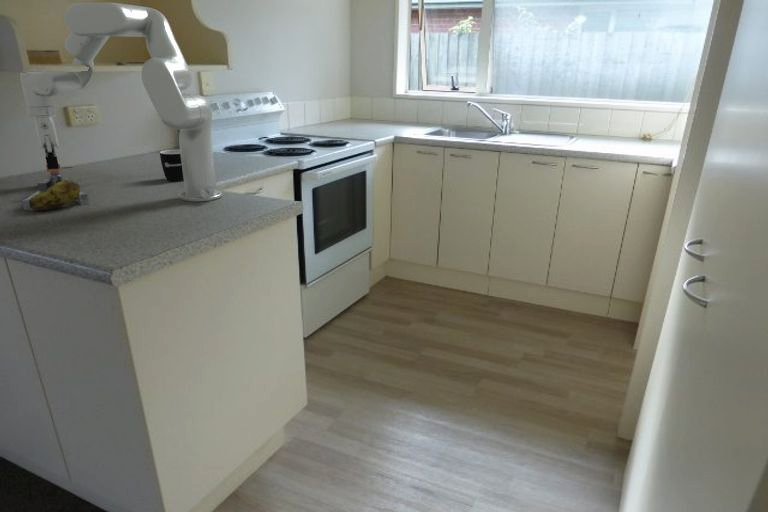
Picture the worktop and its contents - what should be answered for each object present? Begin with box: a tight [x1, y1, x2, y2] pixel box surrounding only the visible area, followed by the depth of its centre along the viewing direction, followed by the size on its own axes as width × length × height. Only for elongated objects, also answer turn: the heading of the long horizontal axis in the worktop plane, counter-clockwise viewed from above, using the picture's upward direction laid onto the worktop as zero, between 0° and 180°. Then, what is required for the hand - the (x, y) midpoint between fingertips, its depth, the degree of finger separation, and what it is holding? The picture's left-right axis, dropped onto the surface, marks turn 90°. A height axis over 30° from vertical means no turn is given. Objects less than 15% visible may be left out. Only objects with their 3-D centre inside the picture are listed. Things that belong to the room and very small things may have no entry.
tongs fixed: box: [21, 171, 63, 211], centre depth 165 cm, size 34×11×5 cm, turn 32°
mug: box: [159, 149, 184, 183], centre depth 188 cm, size 12×9×10 cm
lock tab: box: [45, 162, 62, 173], centre depth 177 cm, size 3×4×2 cm
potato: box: [29, 180, 81, 212], centre depth 151 cm, size 8×13×8 cm, turn 109°
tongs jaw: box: [55, 176, 91, 206], centre depth 164 cm, size 23×2×5 cm, turn 47°
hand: (53, 168), depth 175 cm, fingers closed
